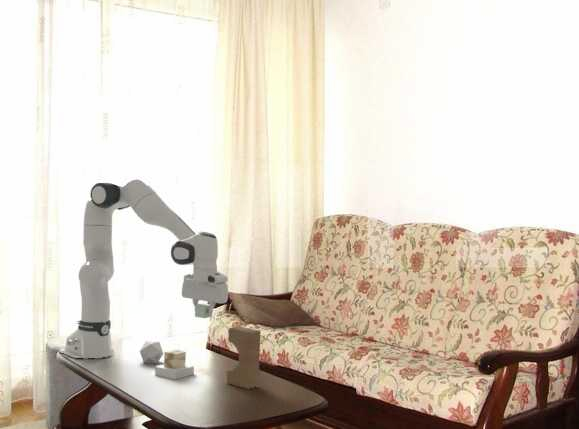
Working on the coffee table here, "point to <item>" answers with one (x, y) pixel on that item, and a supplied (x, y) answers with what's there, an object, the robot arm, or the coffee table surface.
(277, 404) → the coffee table surface
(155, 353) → the die
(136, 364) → the coffee table surface
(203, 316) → the sage cube
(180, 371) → the foundation slab
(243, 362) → the decorative block
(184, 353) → the beech cube
